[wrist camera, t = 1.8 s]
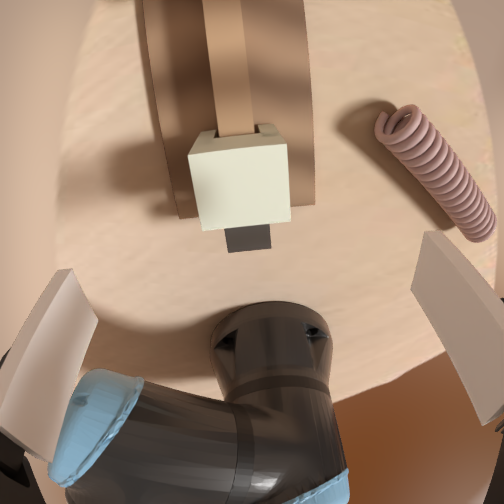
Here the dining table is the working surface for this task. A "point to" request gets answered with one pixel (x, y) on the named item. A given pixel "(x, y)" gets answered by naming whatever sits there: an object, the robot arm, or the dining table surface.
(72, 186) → the dining table surface
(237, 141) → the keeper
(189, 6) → the track
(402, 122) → the coil
